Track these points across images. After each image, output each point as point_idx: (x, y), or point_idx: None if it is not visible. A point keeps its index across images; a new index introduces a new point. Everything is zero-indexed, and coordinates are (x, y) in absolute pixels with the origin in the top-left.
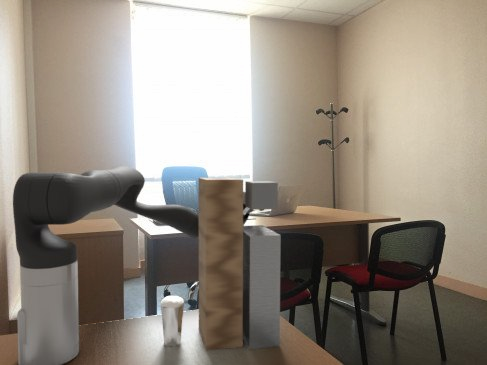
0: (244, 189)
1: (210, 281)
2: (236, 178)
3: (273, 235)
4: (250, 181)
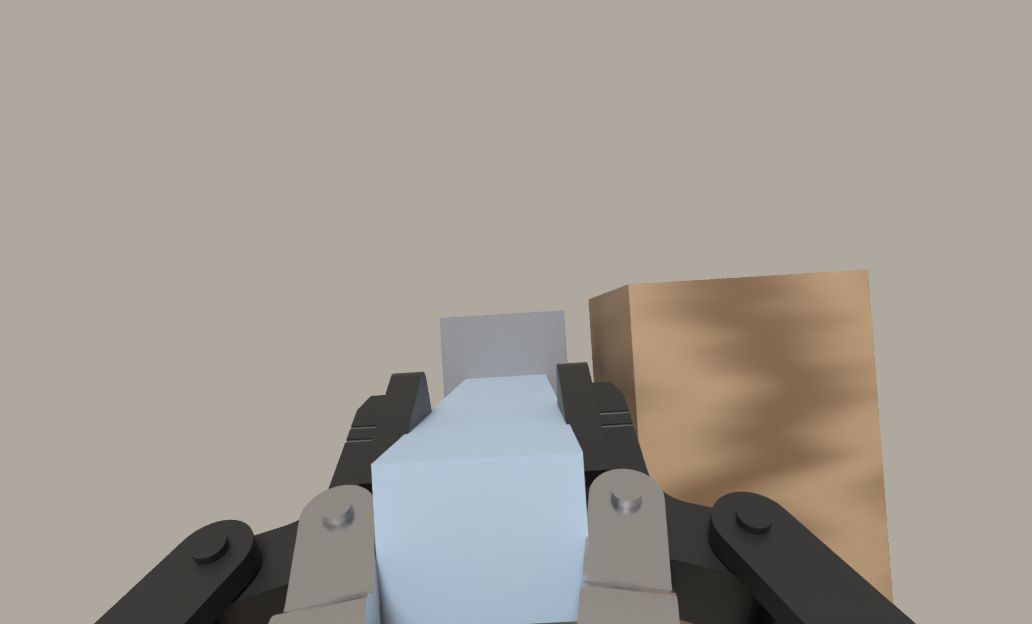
0: (475, 427)
1: None
2: (606, 293)
3: None
4: (541, 312)
